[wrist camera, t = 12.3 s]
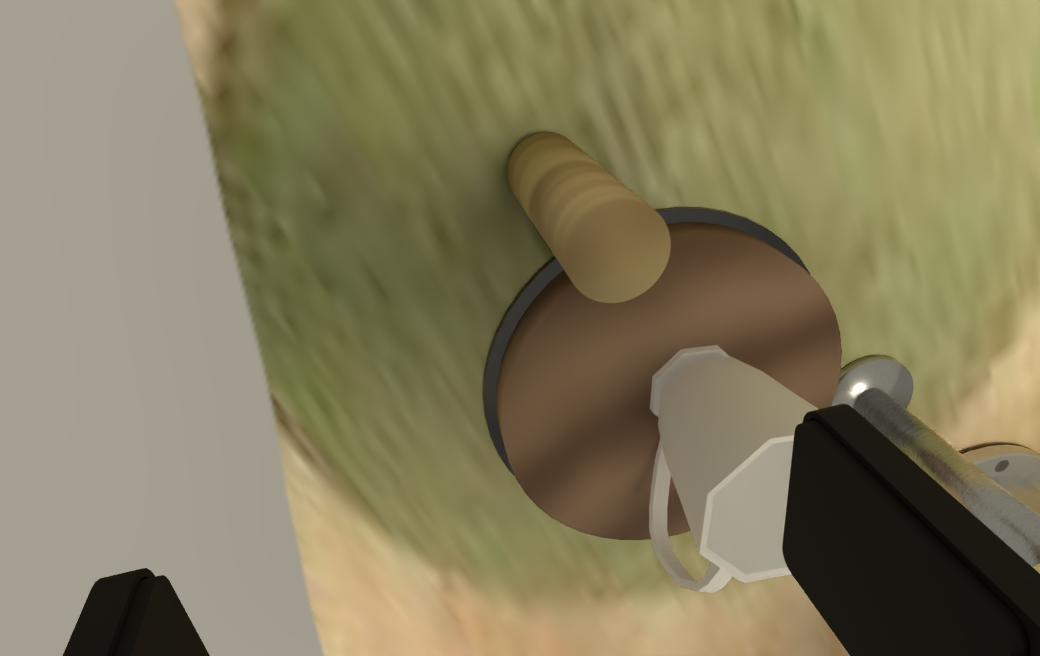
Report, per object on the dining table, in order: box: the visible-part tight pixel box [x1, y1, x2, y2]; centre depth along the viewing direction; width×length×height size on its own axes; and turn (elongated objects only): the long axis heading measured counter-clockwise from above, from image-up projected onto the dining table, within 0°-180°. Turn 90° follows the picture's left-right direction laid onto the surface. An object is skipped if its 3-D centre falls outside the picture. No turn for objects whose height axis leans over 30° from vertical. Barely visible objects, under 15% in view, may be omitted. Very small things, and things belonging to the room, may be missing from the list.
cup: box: [649, 345, 818, 593], centre depth 27 cm, size 7×10×8 cm
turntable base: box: [483, 207, 810, 476], centre depth 33 cm, size 17×17×1 cm
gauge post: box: [831, 355, 1040, 573], centre depth 29 cm, size 5×5×15 cm
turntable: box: [496, 132, 842, 540], centre depth 27 cm, size 22×16×9 cm
